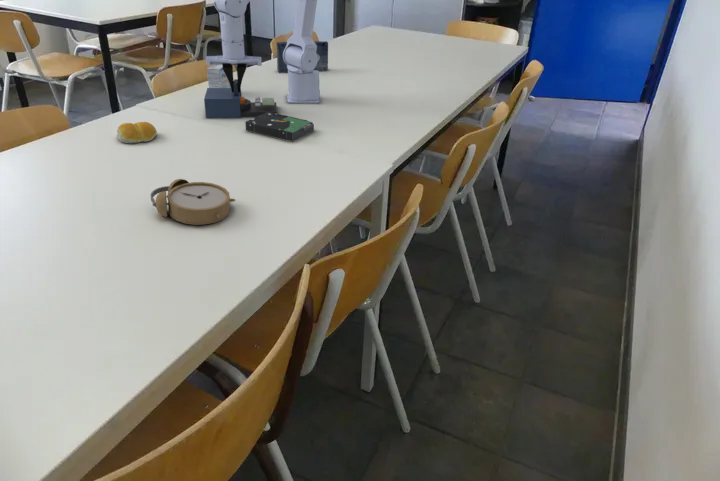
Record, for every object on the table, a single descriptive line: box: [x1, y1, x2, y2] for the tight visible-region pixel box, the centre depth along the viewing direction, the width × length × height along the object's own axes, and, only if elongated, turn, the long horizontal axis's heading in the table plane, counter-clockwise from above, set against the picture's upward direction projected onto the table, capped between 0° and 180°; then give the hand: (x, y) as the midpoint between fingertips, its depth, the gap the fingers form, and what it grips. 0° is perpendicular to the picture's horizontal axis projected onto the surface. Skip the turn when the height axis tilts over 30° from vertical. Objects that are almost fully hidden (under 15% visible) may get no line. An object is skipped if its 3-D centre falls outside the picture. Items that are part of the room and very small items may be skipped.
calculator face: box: [254, 96, 275, 106], centre depth 154 cm, size 5×8×1 cm, turn 9°
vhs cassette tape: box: [276, 40, 329, 74], centre depth 195 cm, size 18×3×10 cm, turn 108°
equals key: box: [240, 95, 246, 104], centre depth 153 cm, size 5×5×1 cm
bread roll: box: [116, 121, 158, 144], centre depth 134 cm, size 8×9×4 cm
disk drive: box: [245, 112, 315, 142], centre depth 142 cm, size 10×3×15 cm
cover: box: [203, 78, 242, 119], centre depth 152 cm, size 9×11×9 cm
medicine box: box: [206, 65, 231, 88], centre depth 167 cm, size 8×4×9 cm, turn 168°
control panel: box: [240, 98, 278, 118], centre depth 155 cm, size 15×9×3 cm, turn 99°
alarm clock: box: [150, 178, 236, 226], centre depth 103 cm, size 11×5×15 cm
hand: (236, 91), depth 152 cm, fingers closed on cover
